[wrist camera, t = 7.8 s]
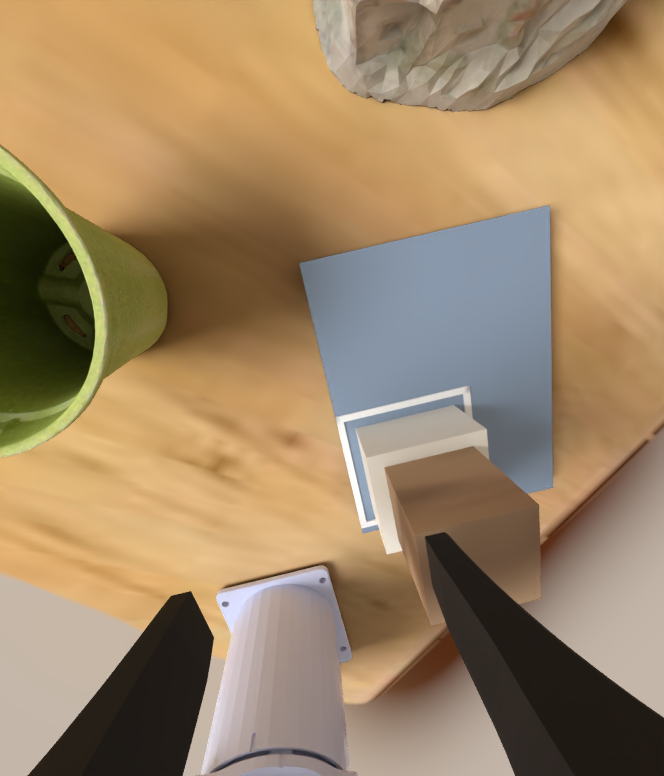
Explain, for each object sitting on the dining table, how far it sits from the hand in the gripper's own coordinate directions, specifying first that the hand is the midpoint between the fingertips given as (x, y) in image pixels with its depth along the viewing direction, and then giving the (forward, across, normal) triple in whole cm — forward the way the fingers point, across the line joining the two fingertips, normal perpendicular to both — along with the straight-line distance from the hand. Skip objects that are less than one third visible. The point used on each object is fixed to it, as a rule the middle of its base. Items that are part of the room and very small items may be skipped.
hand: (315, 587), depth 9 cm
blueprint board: (+10, -8, -1) cm, 13 cm away
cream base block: (+9, -6, +3) cm, 11 cm away
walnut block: (+6, -6, +3) cm, 9 cm away
